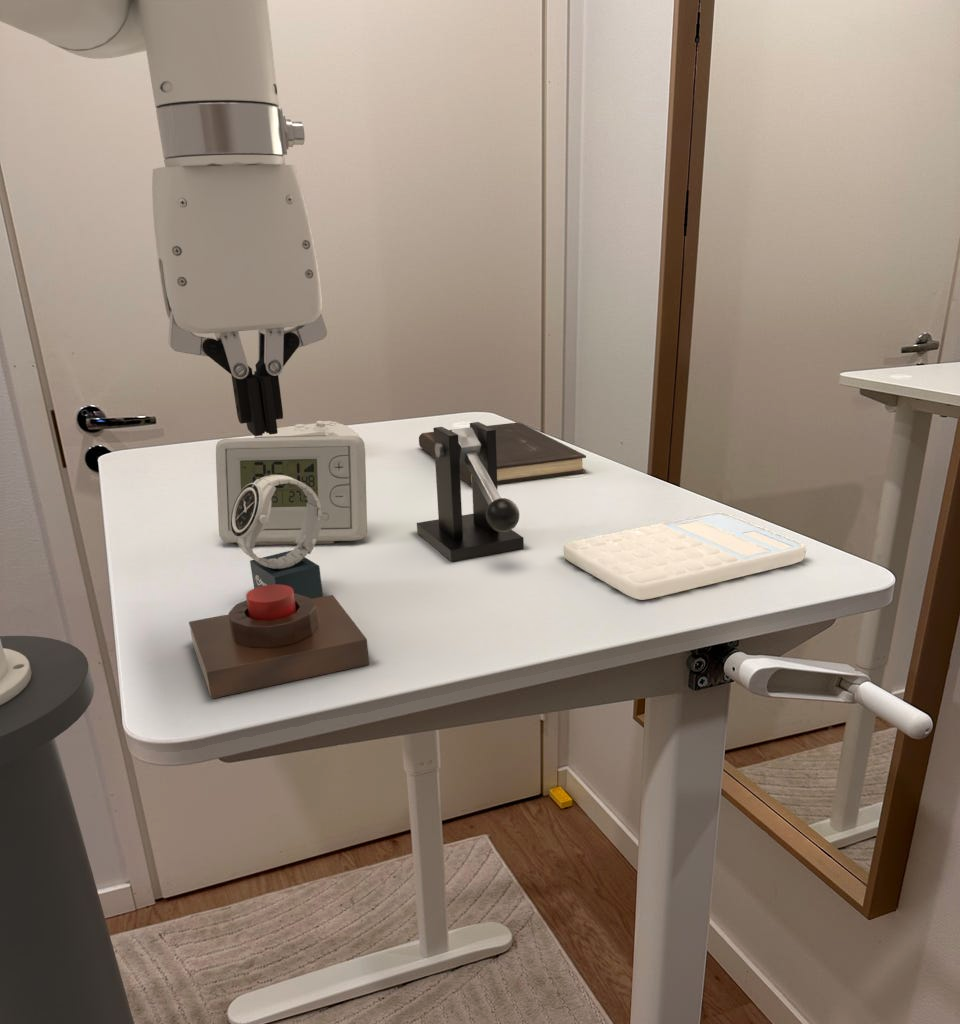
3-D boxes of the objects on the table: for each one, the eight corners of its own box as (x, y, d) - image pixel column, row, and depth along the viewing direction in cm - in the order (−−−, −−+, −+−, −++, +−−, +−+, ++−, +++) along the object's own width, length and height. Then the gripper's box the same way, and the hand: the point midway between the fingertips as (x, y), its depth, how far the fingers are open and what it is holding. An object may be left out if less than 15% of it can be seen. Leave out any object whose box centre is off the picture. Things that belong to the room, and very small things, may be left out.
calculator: (558, 558, 89) (558, 540, 89) (719, 524, 97) (720, 507, 96) (637, 604, 79) (637, 584, 78) (810, 561, 86) (813, 542, 85)
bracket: (523, 548, 93) (522, 433, 87) (451, 561, 90) (445, 443, 85) (484, 521, 101) (481, 415, 96) (417, 533, 98) (409, 424, 93)
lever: (521, 536, 87) (527, 512, 84) (490, 541, 86) (496, 517, 83) (472, 447, 94) (476, 423, 91) (443, 451, 92) (447, 426, 90)
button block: (211, 699, 66) (202, 649, 64) (193, 645, 74) (184, 601, 72) (369, 664, 70) (364, 617, 68) (335, 617, 78) (330, 574, 77)
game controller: (265, 448, 123) (247, 419, 130) (268, 477, 126) (250, 448, 133) (365, 434, 128) (343, 408, 136) (366, 462, 131) (344, 435, 138)
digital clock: (212, 546, 97) (195, 447, 92) (251, 520, 104) (238, 428, 100) (353, 554, 93) (343, 451, 88) (383, 527, 100) (375, 431, 96)
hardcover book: (520, 437, 138) (519, 422, 137) (585, 472, 118) (586, 455, 117) (419, 449, 133) (418, 433, 132) (469, 488, 113) (469, 469, 112)
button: (254, 626, 68) (250, 605, 68) (245, 609, 71) (242, 589, 71) (300, 617, 70) (298, 596, 69) (290, 601, 73) (287, 581, 72)
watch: (234, 597, 83) (215, 480, 79) (313, 576, 87) (300, 464, 83) (259, 616, 79) (240, 494, 74) (340, 593, 83) (328, 476, 79)
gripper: (322, 145, 63) (347, 411, 71) (94, 147, 58) (149, 434, 66) (353, 137, 57) (377, 429, 65) (101, 138, 52) (160, 456, 59)
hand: (262, 431), depth 65 cm, fingers closed
